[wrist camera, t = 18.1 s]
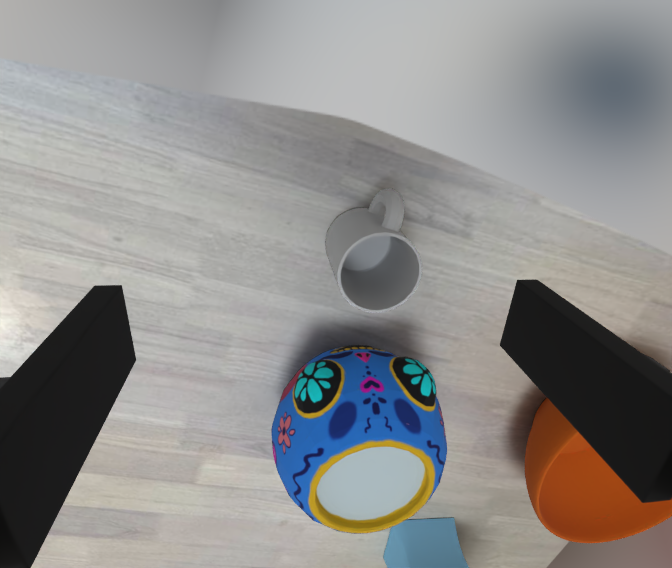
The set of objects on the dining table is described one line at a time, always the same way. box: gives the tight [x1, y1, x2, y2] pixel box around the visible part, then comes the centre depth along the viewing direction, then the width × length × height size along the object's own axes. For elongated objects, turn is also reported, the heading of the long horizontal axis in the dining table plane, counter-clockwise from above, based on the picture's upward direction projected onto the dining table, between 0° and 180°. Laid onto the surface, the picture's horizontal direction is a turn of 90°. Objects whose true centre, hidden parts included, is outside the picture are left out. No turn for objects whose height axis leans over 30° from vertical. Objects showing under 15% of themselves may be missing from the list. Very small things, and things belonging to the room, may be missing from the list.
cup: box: [325, 189, 422, 313], centre depth 37 cm, size 7×10×9 cm
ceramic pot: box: [272, 345, 447, 534], centre depth 42 cm, size 18×18×15 cm
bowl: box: [525, 398, 672, 543], centre depth 52 cm, size 25×25×10 cm
